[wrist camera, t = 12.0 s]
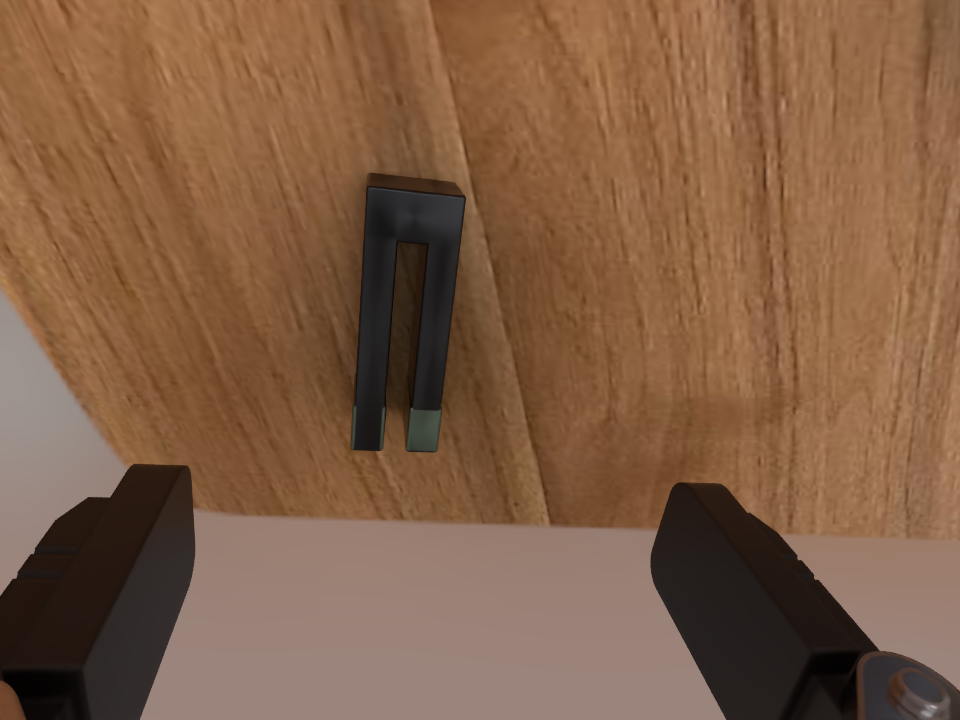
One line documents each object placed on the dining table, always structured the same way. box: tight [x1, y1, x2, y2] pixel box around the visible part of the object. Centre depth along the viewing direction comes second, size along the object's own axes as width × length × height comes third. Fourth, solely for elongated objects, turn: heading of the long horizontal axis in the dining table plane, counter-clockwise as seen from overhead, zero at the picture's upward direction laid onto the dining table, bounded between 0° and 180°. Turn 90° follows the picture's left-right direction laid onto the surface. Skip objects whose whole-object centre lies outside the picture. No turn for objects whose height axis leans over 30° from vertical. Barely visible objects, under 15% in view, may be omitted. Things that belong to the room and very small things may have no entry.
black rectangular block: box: [350, 173, 466, 452], centre depth 19 cm, size 8×3×2 cm, turn 172°
